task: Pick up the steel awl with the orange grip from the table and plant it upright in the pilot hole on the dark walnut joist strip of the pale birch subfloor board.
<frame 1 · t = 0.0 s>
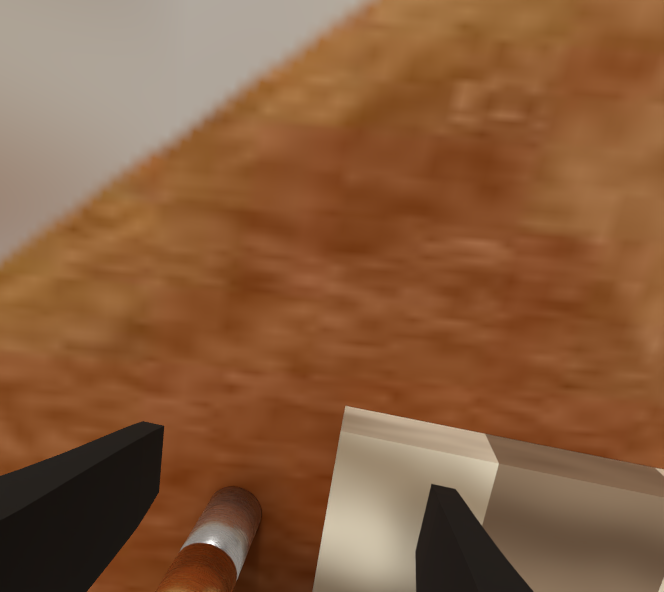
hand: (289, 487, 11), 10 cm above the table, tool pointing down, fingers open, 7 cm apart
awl: (235, 510, 23), on the table
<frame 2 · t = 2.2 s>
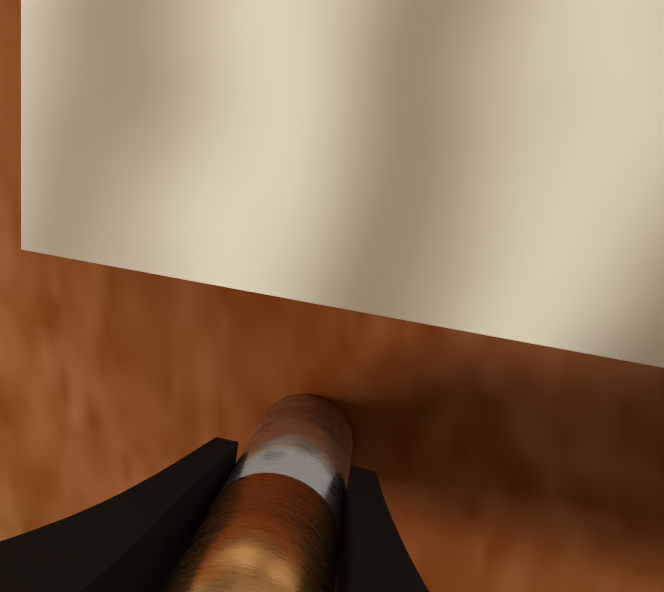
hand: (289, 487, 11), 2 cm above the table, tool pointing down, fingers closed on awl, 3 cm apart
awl: (305, 438, 13), on the table, touching gripper
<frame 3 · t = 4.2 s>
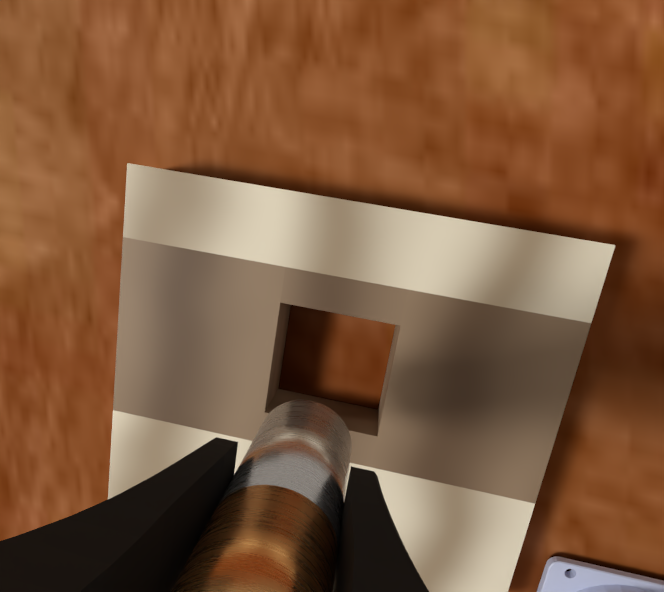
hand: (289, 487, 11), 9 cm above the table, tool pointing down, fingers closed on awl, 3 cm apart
subfloor board: (329, 389, 20), on the table
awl: (305, 442, 13), point 7 cm above the table, touching gripper
when the fingers open (4 cm above the table, at t = 6.3 s): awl drops 1 cm, resting in subfloor board.
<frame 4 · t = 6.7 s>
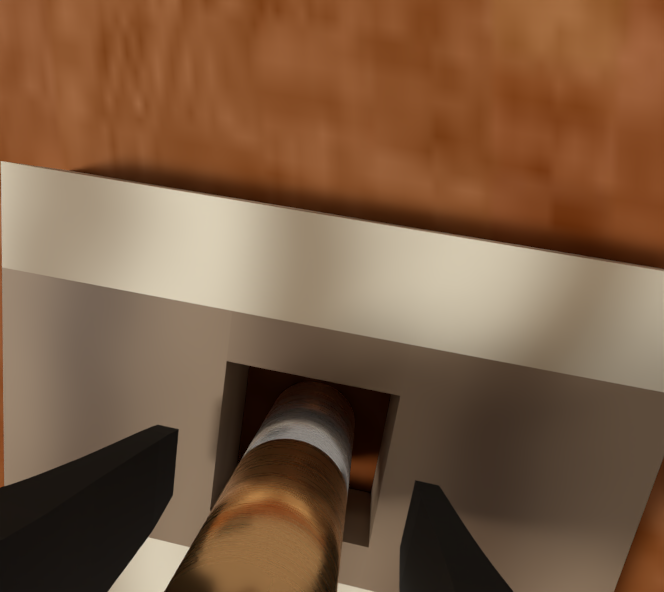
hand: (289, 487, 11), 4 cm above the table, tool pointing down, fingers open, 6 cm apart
subfloor board: (305, 466, 15), on the table
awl: (312, 421, 15), resting in subfloor board
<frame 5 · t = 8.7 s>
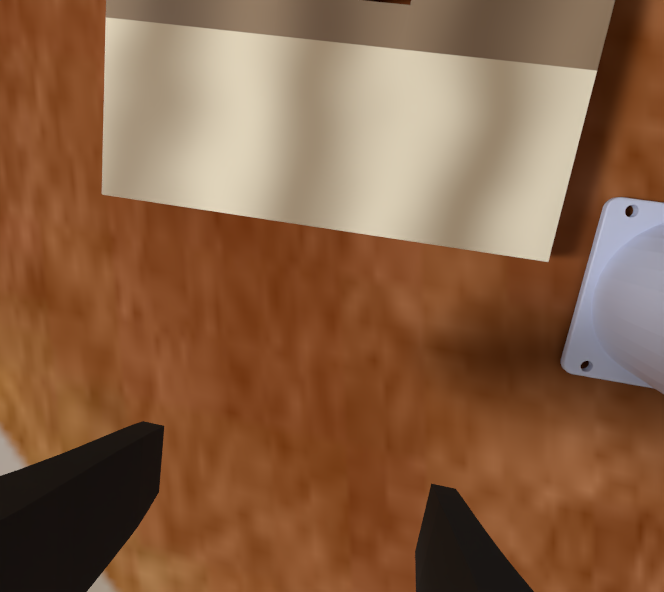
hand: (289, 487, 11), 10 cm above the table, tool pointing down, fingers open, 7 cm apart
subfloor board: (350, 14, 18), on the table
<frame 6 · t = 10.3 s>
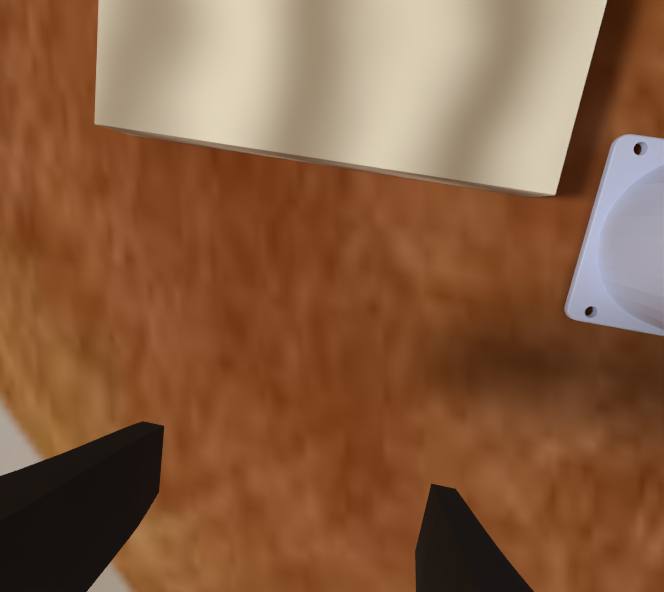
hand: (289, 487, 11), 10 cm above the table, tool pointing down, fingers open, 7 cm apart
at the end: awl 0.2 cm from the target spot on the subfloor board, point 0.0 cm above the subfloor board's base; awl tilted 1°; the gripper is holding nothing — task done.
